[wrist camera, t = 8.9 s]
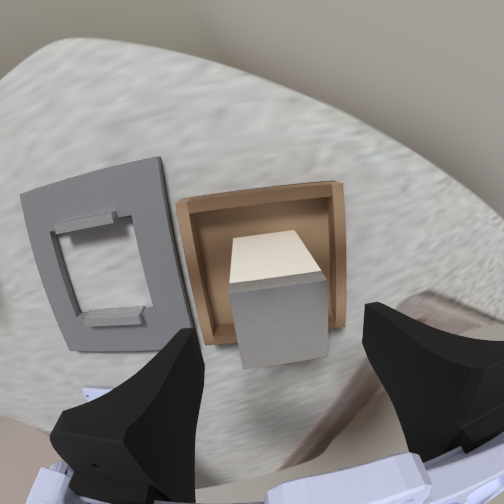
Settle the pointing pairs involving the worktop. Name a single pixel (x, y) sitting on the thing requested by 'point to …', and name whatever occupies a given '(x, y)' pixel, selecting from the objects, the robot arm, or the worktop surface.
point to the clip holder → (149, 243)
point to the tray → (256, 223)
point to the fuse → (277, 300)
